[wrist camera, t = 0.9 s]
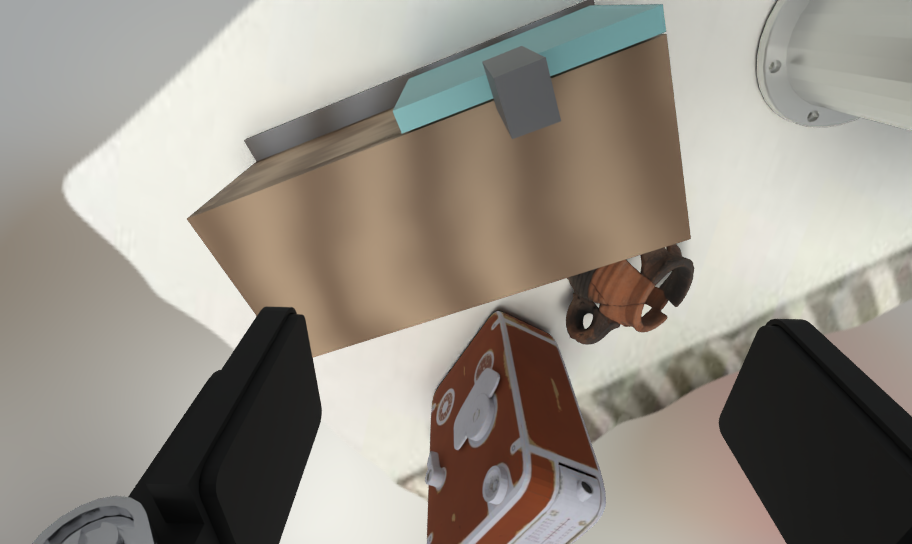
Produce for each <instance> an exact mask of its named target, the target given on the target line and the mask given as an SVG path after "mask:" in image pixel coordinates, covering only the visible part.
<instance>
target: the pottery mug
mask: <svg viewBox="0 0 912 544" xmlns="http://www.w3.org/2000/svg"><path fill="white" fill-rule="evenodd" d="M666 248H667V250H666V249H665V247H663V248H660V249H657V250H654V251H651V252H647V253H644V254H641V255H640V256H641V263H642V266H641V273H640V272H638V270H637V269H635V268H634V267H633V266H632V265H631V264H630V263H629V262H628V261H627V260H626V259H625V260H622V261H619V262H616V263H612V264H609V265H606V266H603V267H600V268H596V269H593V270H590V271H587V272H584V273H581V274H577V275H574V276H571V277H568V278H567V279H568V280H569V282H570V284H571V286H572V288H573V290H574V292H575V293H573V300H572V302H571V304H570V306H569V308H568V311H567V315H566V328H567V331H568V333H569V335H570V338H572V339H576V341H577V342H580V343H582V344H594V343H596V342H598V341H600V340H601V339H602V338H604V337H605V336H606V335H607V334H608V333H609V332H610V331H611V330H613V329H615V328H618V327H619V326H620V324H621V325H623V326H625V327H628V326H629V327H630V326H632V327H634V328H635V329H636V331H638V332H648V331H651V330H653V329H655V328H656V327H658V326H659V325H661V324H662V323H663V322H664V321H665V320H666V319H667V315H665V314H663V313H662V312H661V310H662V309H663V308H664V306H665V305H666V304H667V302H668V301H670V302H671V303H672V304H673V305H674V306H675V307H678V306H679V304H680V303H681V302H682V301H683V299H684V298H685V296H686V294H687V292H688V290H689V288H690V286H691V283H692V280H693V273H694V266H693V262H692V261H691V260H690V259H687V258H684V257H682V254H681V251H680V248H679V247H678V246H677V245H676V244H673V245H670V246H667V247H666ZM670 271H672V272H671V274H670V275H669V277H668V278H667V279H666V280H665V281H664V282H663V284H662V285H661V286H660V287H659V288H658V287H655V285H656V284H657V283H658V282H659V281H660V280H661V279H662V278H663V277H664V276H665V275H666V274H667V273H669V272H670ZM594 302H595V303H599V304H600V305H599V308H598V307H597V306H596V304H595V303H594ZM644 304H647V305H649V306H651V307H652V308H651V310H650V311H648V312H647V313H646V314H645V315H644V316H643V317H641V314H642V310H643V307H644ZM587 313H591V314H593V320H592V323H591V325H590V326H589V327H588V328H587V329H584V326H583V317H584V315H585V314H587Z"/></svg>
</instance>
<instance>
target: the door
mask: <svg viewBox="0 0 912 544" xmlns="http://www.w3.org/2000/svg"><path fill="white" fill-rule="evenodd" d="M664 32H666V27H665V19H664V11H663V4H650V5H590V6H587V7H585V8H583V9H580V10H578V11H575V12H573V13H570V14H568V15H565V16H563V17H560V18H558V19H555V20H553V21H550V22H548V23H545V24H543V25H541V26H538V27H536V28H533V29H531V30H528V31H526V32H523V33H521V34H518V35H516V36H513V37H511V38H508V39H506V40H503V41H501V42H499V43H496V44H494V45H491V46H489V47H486V48H484V49H481V50H479V51H476V52H474V53H471V54H469V55H466V56H464V57H461V58H459V59H457V60H454V61H452V62H449V63H447V64H444V65H442V66H439V67H437V68H434V69H432V70H429V71H427V72H424V73H422V74H419V75H417V76H415V77H412V78H410V79H408V81H407V83H406V85H405V87H404V89H403V91H402V93H401V95H400V97H399V99H398V101H397V103H396V105H395V107H394V109H393V114H394V116H395V118H396V121H397V123H398V125H399V128H400V130H401V133H405V132H408V131H410V130H413V129H415V128H418V127H421V126H423V125H426V124H428V123H431V122H433V121H436V120H439V119H441V118H444V117H446V116H449V115H452V114H454V113H457V112H459V111H462V110H465V109H467V108H470V107H472V106H475V105H478V104H480V103H483V102H485V101H488V100H491V99H494V102H495V105H496V108H497V111H498V113H499V115H500V117H501V119H502V121H503V123H504V125H505V127H506V128H507V130H508V132H509V134H510V136H511V138H512V139H514V138H517V137H520V136H523V135H525V134H528V133H531V132H533V131H536V130H539V129H542V128H544V127H547V126H550V125H552V124H555V123H558V122H560V121H561V118H560V114H559V110H558V106H557V101H556V97H555V93H554V89H553V85H552V81H551V77H550V76H553V75H555V74H558V73H561V72H563V71H566V70H568V69H571V68H574V67H576V66H579V65H581V64H584V63H586V62H589V61H592V60H594V59H597V58H599V57H602V56H605V55H607V54H610V53H612V52H615V51H618V50H620V49H623V48H625V47H628V46H631V45H633V44H636V43H638V42H641V41H644V40H646V39H649V38H651V37H654V36H656V35H659V34H662V33H664Z"/></svg>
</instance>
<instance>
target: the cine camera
mask: <svg viewBox="0 0 912 544" xmlns="http://www.w3.org/2000/svg"><path fill="white" fill-rule="evenodd" d="M427 466H428V471H427V473H426V477H425V482H426V484H428V485H429V492H428V523H427V544H573V543H574V542H575V541H576V540H577V539H579V538H580V537H581V536H582V535H583V534H584V533H586V532H587V531H588V530H589V529H590V528H591V527H592V526H593V525H594V524H595V523H597V521H598V520H599V519H600V517H601V516H602V514H603V512H604V509H605V505H606V497H605V488H604V483H603V479H602V475H601V471H600V468H599V465H598V462H597V459H596V456H595V453H594V450H593V447H592V444H591V441H590V438H589V435H588V432H587V429H586V426H585V423H584V420H583V417H582V414H581V411H580V408H579V405H578V402H577V399H576V396H575V393H574V390H573V388H572V385H571V382H570V379H569V376H568V373H567V370H566V367H565V364H564V361H563V358H562V355H561V353H560V350H559V348H558V346H557V343H556V341H555V339H554V338H553V337H552V336H551V335H550V334H548V333H546V332H544V331H542V330H540V329H538V328H536V327H533V326H531V325H529V324H527V323H525V322H523V321H521V320H519V319H516V318H514V317H512V316H510V315H508V314H506V313H503V312H501V311H496V312H494V313H493V314H492V315H491V316H490V317H489V319H488V320H487V321H486V323H485V324H484V325H483V327H482V328H481V329H480V331H479V332H478V333H477V335H476V336H475V338H474V339H473V340H472V342H471V343H470V344H469V346H468V347H467V349H466V350H465V351H464V353H463V354H462V355H461V357H460V358H459V359H458V361H457V362H456V364H455V365H454V366H453V368H452V369H451V370H450V372H449V373H448V375H447V376H446V377H445V379H444V380H443V381H442V383H441V384H440V385H439V387H438V389H437V390H436V392H435V394H434V397H433V401H432V412H431V433H430V454H429V458H428V462H427Z"/></svg>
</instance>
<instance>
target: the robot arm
mask: <svg viewBox="0 0 912 544" xmlns="http://www.w3.org/2000/svg"><path fill="white" fill-rule="evenodd" d="M769 66H770V67H769ZM757 78H758V83H759V88H760V91H761V93H762V95H763V97H764V99H765V101H766V103H767V104H768V105H769V106H770V108H771V109H772V110H773V111H774V112H775V113H777V114H778V115H779V116H781V117H782V118H784V119H786V120H788V121H791V122H793V123H796V124H799V125H803V126H806V127H831V126H837V125H842V124H845V123H848V122H851V121H854V120H857V119H859V118H865V119H869V120H873V121H876V122H880V123H884V124H888V125H891V126H895V127H899V128H903V129H906V130H910V131H912V0H778V1H777V3H776V5H775V7H774V9H773V11H772V12H771V14H770V16H769V18H768V20H767V22H766V25H765V28H764V31H763V33H762V36H761V39H760V44H759V49H758V54H757ZM321 414H322V408H321V402H320V396H319V391H318V385H317V380H316V374H315V369H314V363H313V358H312V352H311V347H310V341H309V336H308V330H307V325H306V320H305V317H304V315H302V314H297V312H296V310H295V308H293V307H267V306H266V307H263V308H262V310H261V311H260V312H259V314H258V315H257V317H256V318H255V320H254V321H253V323H252V324H251V326H250V327H249V329H248V330H247V332H246V333H245V335H244V336H243V338H242V339H241V341H240V342H239V344H238V345H237V347H236V348H235V350H234V351H233V353H232V354H231V356H230V358H229V359H228V360H227V362H226V363H225V365H224V366H223V368H222V370H218V371H216V372H215V373H213V375H212V376H211V377H210V378H209V379H208V381H207V382H206V384H205V385H204V387H203V388H202V390H201V391H200V392H199V394H198V395H197V397H196V398H195V400H194V401H193V403H192V404H191V406H190V407H189V408H188V410H187V411H186V413H185V414H184V416H183V418H182V419H181V420H180V422H179V423H178V425H177V426H176V428H175V429H174V431H173V432H172V433H171V435H170V437H169V438H168V439H167V441H166V442H165V444H164V445H163V447H162V448H161V450H160V451H159V453H158V454H157V455H156V457H155V458H154V460H153V461H152V463H151V464H150V466H149V467H148V469H147V470H146V472H145V473H144V475H143V476H142V477H141V479H140V480H139V482H138V484H137V485H136V486H135V488H134V489H133V491H132V492H131V494H130V495H129V497H122V496H112V497H106V498H100V499H97V500H94V501H91V502H89V503H86V504H84V505H81V506H79V507H77V508H75V509H74V510H72V511H70V512H69V513H67V514H65V515H63V516H62V517H60V518H59V519H58V520H57V521H55V522H54V523H53V524H51V525H50V526H49V527H48V528H47V529H45V530H44V531H43V532H42V533H41V534H40V535H39V536H38V537H37V539H36V540H35V541H34V542H33V543H32V544H279V542H280V539H281V536H282V533H283V530H284V527H285V524H286V521H287V519H288V516H289V513H290V510H291V507H292V504H293V501H294V498H295V495H296V492H297V489H298V487H299V483H300V481H301V478H302V475H303V471H304V469H305V466H306V463H307V460H308V457H309V455H310V452H311V449H312V445H313V443H314V440H315V437H316V434H317V431H318V428H319V425H320V422H321ZM719 427H720V432H721V434H722V436H723V438H724V439H725V441H726V443H727V445H728V446H729V448H730V449H731V451H732V453H733V454H734V456H735V458H736V459H737V461H738V463H739V464H740V466H741V468H742V470H743V471H744V473H745V475H746V476H747V478H748V479H749V481H750V483H751V484H752V486H753V488H754V490H755V491H756V493H757V495H758V496H759V498H760V500H761V501H762V503H763V505H764V506H765V508H766V510H767V511H768V513H769V515H770V516H771V518H772V520H773V521H774V523H775V525H776V526H777V528H778V530H779V531H780V533H781V535H782V536H783V538H784V540H785V542H786V543H787V544H912V417H911V416H910V415H909V414H908V413H907V412H906V411H905V410H904V409H903V408H902V407H901V406H899V405H898V404H897V403H896V402H895V401H894V400H893V399H892V398H891V397H890V396H889V395H888V394H886V393H885V392H884V391H883V390H882V389H881V388H880V387H879V386H878V385H877V384H876V383H875V382H874V381H872V380H871V379H870V378H869V377H868V376H867V375H866V374H865V373H864V372H863V371H861V370H860V369H859V368H858V367H857V366H856V365H855V364H854V363H853V362H852V361H851V360H850V359H849V358H847V357H846V356H845V355H844V354H843V353H842V352H841V351H840V350H839V349H838V348H837V347H836V346H835V345H833V344H832V343H831V342H830V341H829V340H828V339H827V338H826V337H825V336H824V335H823V334H822V333H820V332H819V331H818V330H817V329H816V328H815V327H814V326H813V325H812V324H811V323H809V322H808V321H806V320H801V319H772V320H770V321H769V322H767V324H766V325H765V326H762V327H761V328H759V330H758V331H757V333H756V336H755V338H754V340H753V342H752V345H751V347H750V349H749V352H748V354H747V356H746V358H745V361H744V363H743V365H742V367H741V370H740V372H739V374H738V376H737V379H736V381H735V384H734V386H733V388H732V390H731V393H730V395H729V397H728V399H727V401H726V404H725V406H724V408H723V410H722V413H721V415H720V418H719Z"/></svg>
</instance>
